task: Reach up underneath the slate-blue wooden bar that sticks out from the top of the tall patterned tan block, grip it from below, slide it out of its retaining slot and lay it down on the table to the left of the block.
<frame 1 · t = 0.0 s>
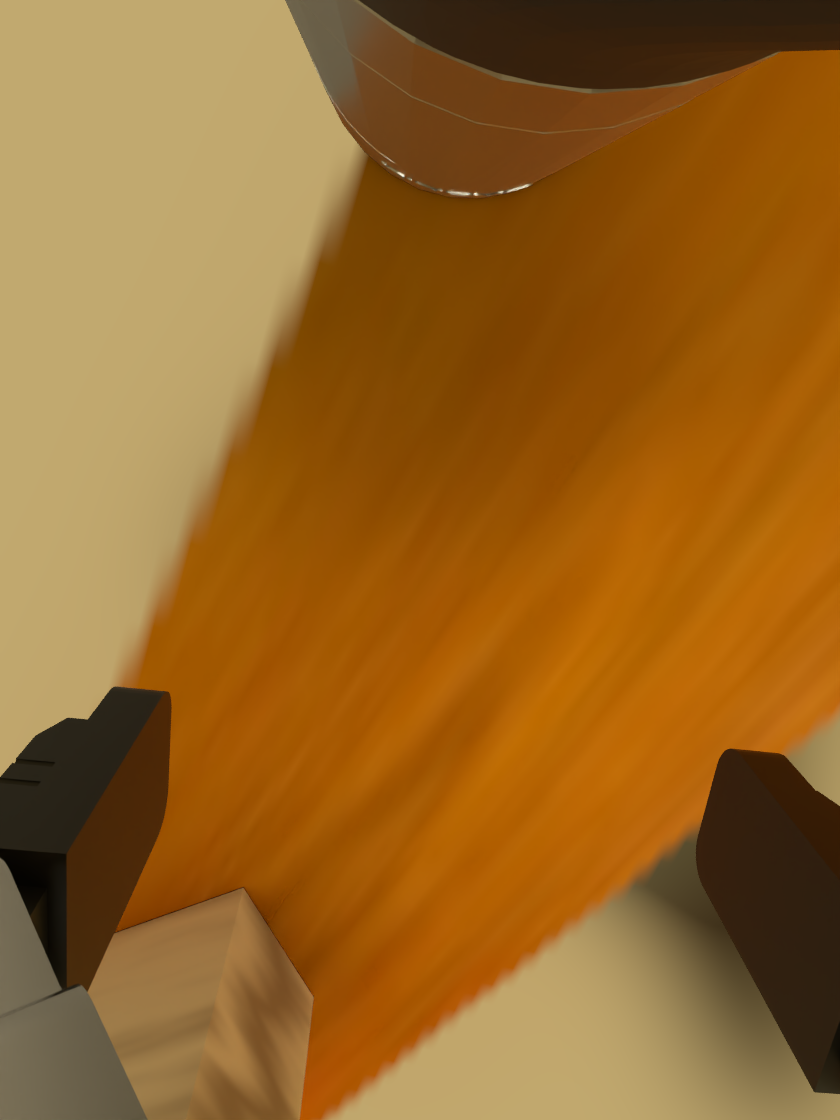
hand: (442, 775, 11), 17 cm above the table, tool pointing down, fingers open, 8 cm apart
tall patterned tan block: (214, 966, 35), on the table
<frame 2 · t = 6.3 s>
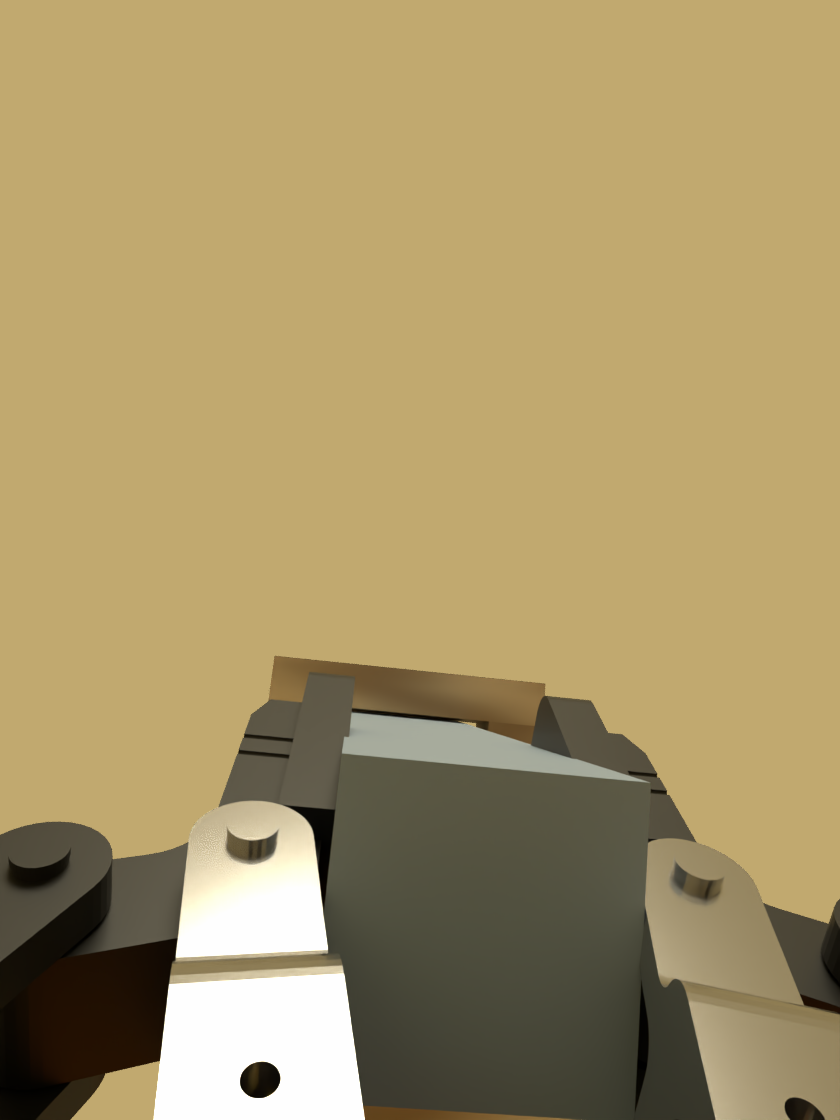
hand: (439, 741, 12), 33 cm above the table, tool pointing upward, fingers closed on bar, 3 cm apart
bar: (410, 899, 14), point 30 cm above the table, touching gripper, tall patterned tan block
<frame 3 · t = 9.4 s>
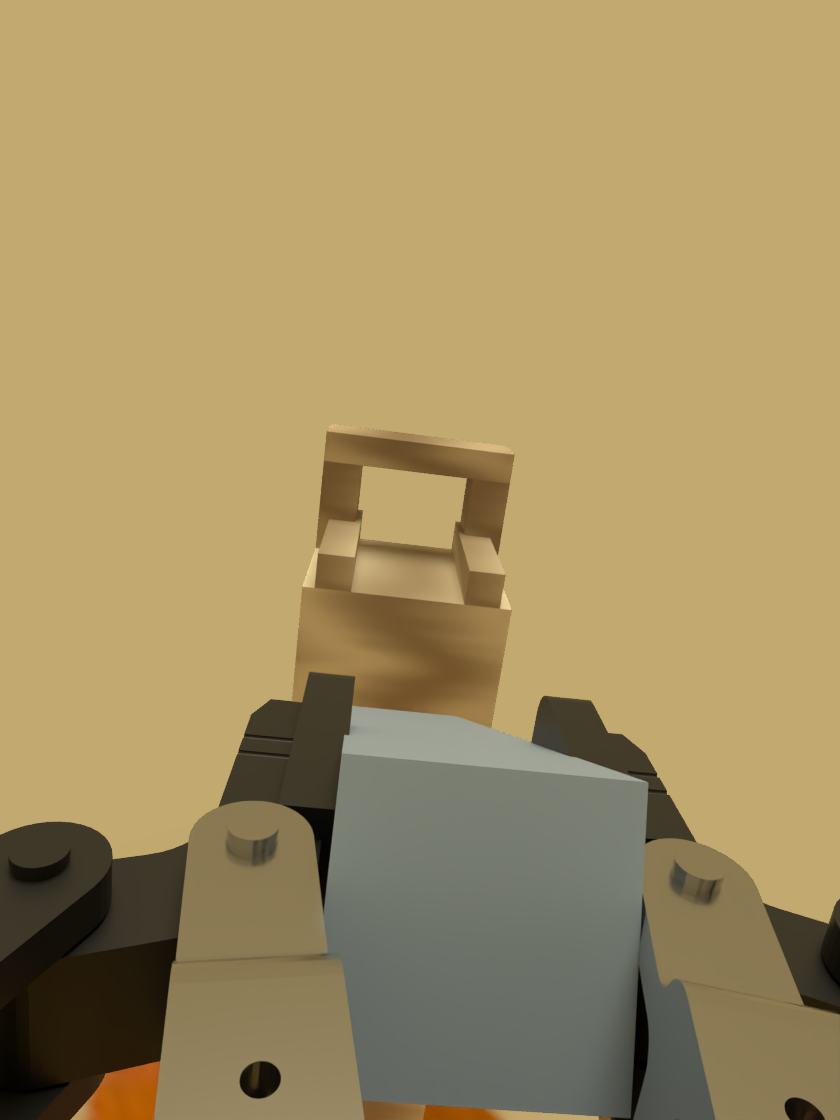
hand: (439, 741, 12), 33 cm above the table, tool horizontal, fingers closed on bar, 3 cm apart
bar: (410, 894, 14), point 29 cm above the table, tilted 26°, touching gripper
when the fingers open (7 cm above the table, at t = 13.4 s): bar drops 4 cm, on the table.
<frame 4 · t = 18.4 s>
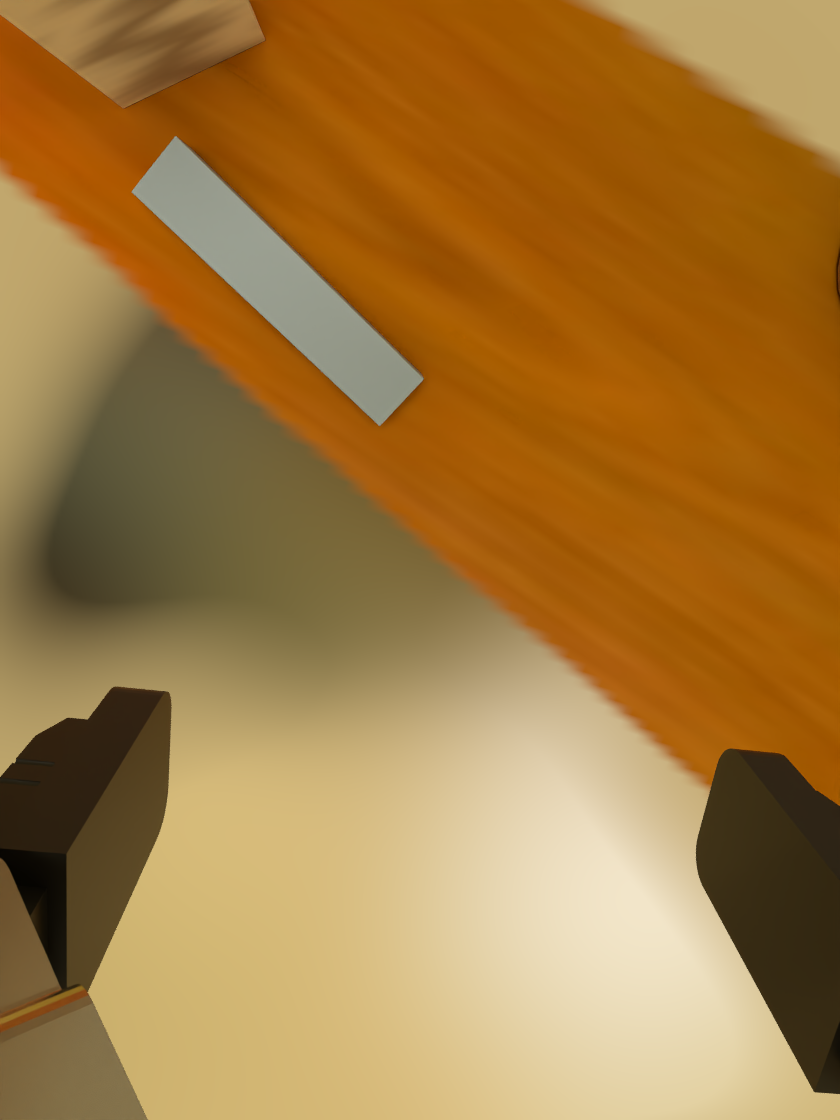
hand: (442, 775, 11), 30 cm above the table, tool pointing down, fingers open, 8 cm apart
bar: (291, 290, 38), on the table
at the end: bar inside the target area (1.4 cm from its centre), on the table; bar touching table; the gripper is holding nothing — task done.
